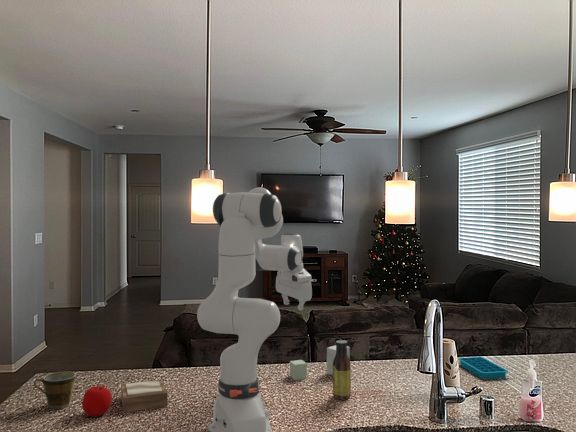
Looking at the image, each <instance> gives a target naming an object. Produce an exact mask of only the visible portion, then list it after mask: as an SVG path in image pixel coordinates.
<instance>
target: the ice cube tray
mask: <svg viewBox="0 0 576 432" xmlns="http://www.w3.org/2000/svg"><path fill="white" fill-rule="evenodd" d="M458 358H459V360H458V361H459V364H460V366H461V367H462V368H464V369H465V370H467V369H468V370H467V371H469V372H470V373H472V374H474V375H476V376H477V377H479V378H481V379H483V380H489V379H505V378H506V377H507V376H506V375H507V374H506V373H509V370H508V369H506V368H504V367H502V366H501V365H498V364H497V363H495V362H493V361H492V360H489V359H487V358H485V357H483V356H470V357H469V356H468V357H458Z"/></svg>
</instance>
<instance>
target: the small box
mask: <svg viewBox="0 0 576 432" xmlns="http://www.w3.org/2000/svg"><path fill="white" fill-rule="evenodd" d="M350 350H351V348H350V346H348V345H347V356H348V357H349V359H350V360H351V357H350V353H351V352H350ZM335 355H336V344H335V345H332V346H328V347H326V374H328V375H331V376H333V361H334V358H335Z"/></svg>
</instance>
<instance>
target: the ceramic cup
mask: <svg viewBox="0 0 576 432" xmlns="http://www.w3.org/2000/svg"><path fill="white" fill-rule="evenodd" d="M76 377H77V375H76V372H73V371H68V370H67V371H64V370H63V371H57V372H52V373H48V374H46V375H44V376H43V378H36V379H35V380H34V382H33V385H34V388H36V389H38V390H39V391H41V393H42V394H44V395H45V396H46V400H47V406H48V408H49V409H51V410H63V409H65V408H68V407H70V406H71V403H72V400H73V399H72V398H73V393H74V386H75V382H76ZM37 382H41V383H42V384H43V386H44V390H43V389H42V388H41V387H39V386H37V385H36V383H37Z"/></svg>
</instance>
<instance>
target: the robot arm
mask: <svg viewBox="0 0 576 432" xmlns="http://www.w3.org/2000/svg"><path fill="white" fill-rule="evenodd" d="M212 204H213V205H212V214H213V217H214V220H215V222H216V223H217V225H219V227H220V228H219V234H218V235H219V236H218V247H217V249H218V252H217V253H218V275H217V280H216V285H215V286H214V289H213V290H212V292H211V293H210V294H209V296H207V297H206V298H205V299H203V300H202V301H201V303H200V304H199V305H198V308H197V312H196V316H197V317H196V318H197V322H198V324H199V326H200V328H201V329H202V330H205V331H208V332H211V333H215V334H227V335H228V334H229V335H237V336H238V339H237V340H238V342H236V343H234V344H231V345H230V346H228V347H226V348H225V349H224V350H223V351H222V352H221V354H220V358H219V360H220V361H219V363H220V364H219V365H220V366H219V367H220V369H219V376H220V378H218V379H219V380H218V385H217V386H218V396H217V397H216V398H215V399H214V401H213V411H212V412H213V413H212V414H213V415H212V423H210V424H208V426H207V431H208V432H273V429H272V426H271V423H270V421H269V419H270V418H271V416H270V415H271V413H270V410H269V409H264V408H265V406H266V401H263V400H262V394H261V392H260V388H259V387H260V383H259V379H258V377H257V375H258V374H257V373H258V371H257V369H258V368H257V367H258V356H259V351H260V349H261V347H262V345H263V344H264V342H265V341H266V339H267V338H269V337H270V336H271V335H272V334H274V333H275V331H276V330H277V329H278V328H279V325H280V322H281V313H280V309H279V307H278V305H277V304H276V303H275V302H274V301H271V300H269V299H268V300H267V299H263V298H254V297H253V298H249V297H239V290H241V289H242V288H245V287H246V286H249V285H250V284H251V283H252V282H253V281H254V280H255V278H256V275H257V274H256V273H257V272H256V271H257V270H258V271H277V275H276V277H275V290H276V292H277V293H280V294H281V297H282V300H283V304H284V305H285V306H286V305H287V306H288V305H290V299H289V297H291V298H294V299H295V300H298V302H299V304H298V305H297V310H298V311H303V310H304V305H305V303H306V302H309V301H311V299H312V296H313V288H312V282H311V281H312V278H313V277H312V274H310V273H309V272H308V271H307V269H305V268H304V263H303V257H304V248H303V241H302V236H301V235H300V234H299V233H283V234H281V240H280V245H277V244H276V245H275V244H265V243H263V241H262V240H264V239H269V238H272V237H274V236H276V235H277V234H278V233H279V231H280V230H281V229H282V227H283V224H284V216H283V214H282V210H283V209H282V201H280V199H279V198H278V197H277V195H275V194H272V193H271V191H269V190H268V189H267V188H265V187H260V186H259V187H253V188H252V189H251V190H249V191H243V192H242V191H241V192H232V193H231V192H226V193H220V194H218V196H217V197H216V198H215V199H214V201H213V203H212Z"/></svg>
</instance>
